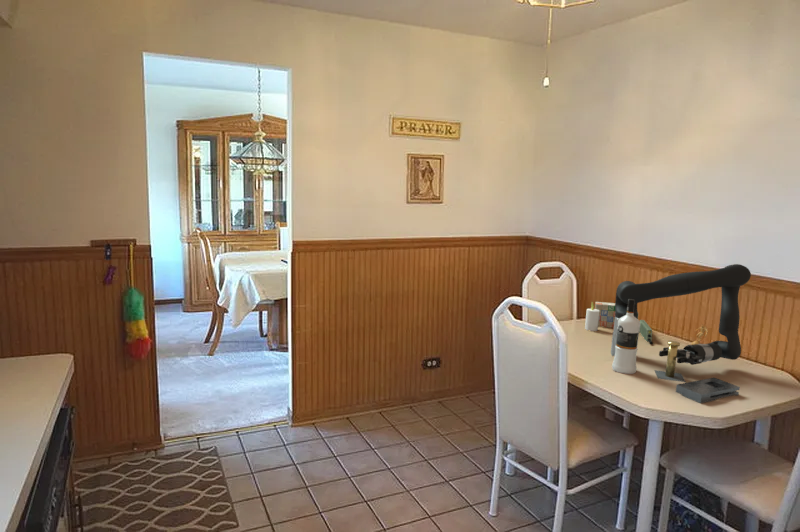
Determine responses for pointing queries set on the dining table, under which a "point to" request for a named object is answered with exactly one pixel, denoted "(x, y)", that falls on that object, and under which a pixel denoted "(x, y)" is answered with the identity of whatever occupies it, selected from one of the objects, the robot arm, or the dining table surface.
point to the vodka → (627, 342)
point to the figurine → (700, 334)
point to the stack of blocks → (606, 314)
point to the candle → (592, 319)
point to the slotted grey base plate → (707, 390)
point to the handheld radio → (646, 331)
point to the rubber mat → (676, 377)
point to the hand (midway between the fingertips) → (668, 357)
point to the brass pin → (671, 358)
